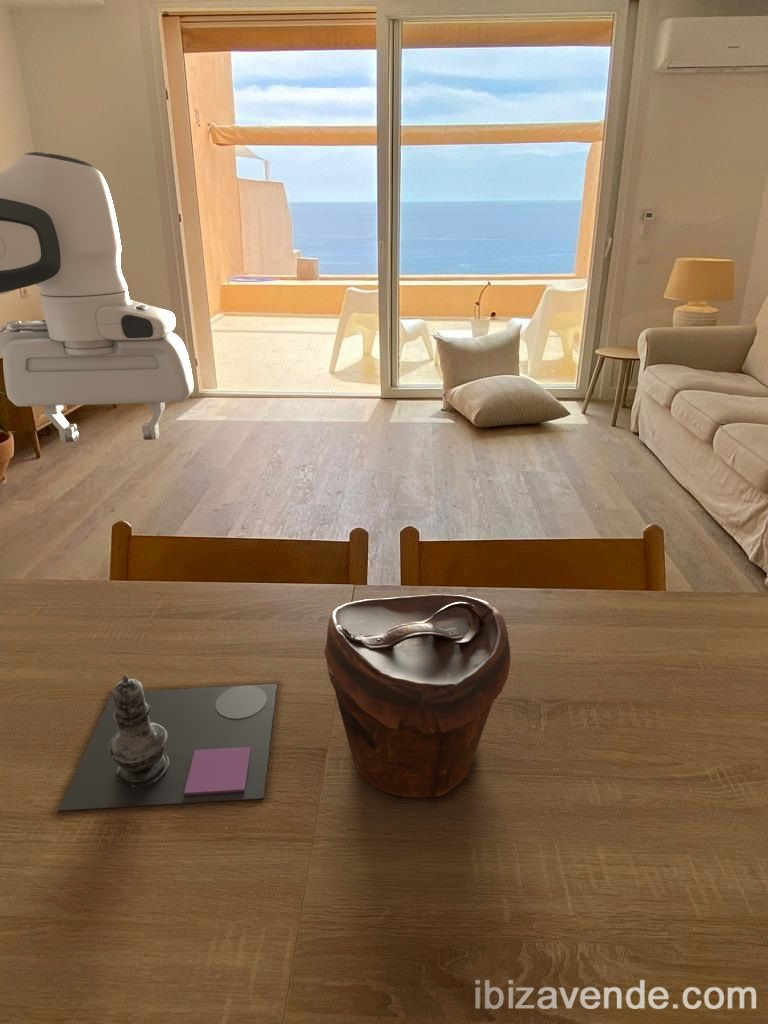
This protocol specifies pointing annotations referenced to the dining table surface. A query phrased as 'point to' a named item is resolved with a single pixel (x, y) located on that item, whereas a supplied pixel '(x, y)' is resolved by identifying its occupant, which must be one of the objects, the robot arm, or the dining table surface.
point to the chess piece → (136, 737)
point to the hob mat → (180, 746)
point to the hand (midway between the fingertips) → (111, 439)
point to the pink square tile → (218, 771)
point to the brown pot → (416, 686)
